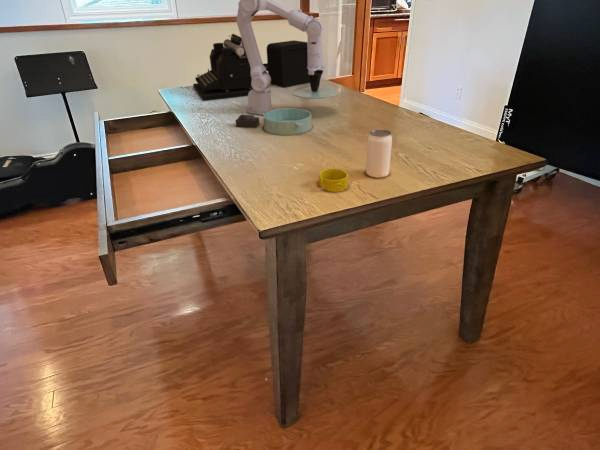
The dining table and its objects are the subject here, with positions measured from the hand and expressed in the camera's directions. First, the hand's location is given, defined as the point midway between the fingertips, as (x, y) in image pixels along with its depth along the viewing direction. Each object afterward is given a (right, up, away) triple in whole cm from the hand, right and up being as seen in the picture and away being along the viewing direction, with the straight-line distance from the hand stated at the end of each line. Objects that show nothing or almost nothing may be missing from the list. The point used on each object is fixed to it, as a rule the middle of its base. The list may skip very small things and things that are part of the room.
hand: (315, 90), depth 167 cm
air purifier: (-12, +22, +57) cm, 62 cm away
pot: (-11, -18, -11) cm, 23 cm away
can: (+16, -40, -50) cm, 66 cm away
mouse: (-26, -16, -7) cm, 32 cm away
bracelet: (+3, -44, -56) cm, 71 cm away
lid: (0, -1, 0) cm, 1 cm away
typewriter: (-44, +14, +44) cm, 64 cm away
